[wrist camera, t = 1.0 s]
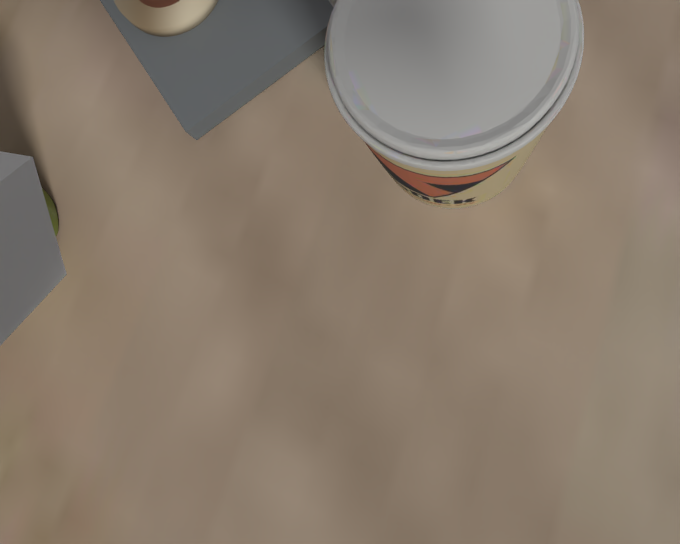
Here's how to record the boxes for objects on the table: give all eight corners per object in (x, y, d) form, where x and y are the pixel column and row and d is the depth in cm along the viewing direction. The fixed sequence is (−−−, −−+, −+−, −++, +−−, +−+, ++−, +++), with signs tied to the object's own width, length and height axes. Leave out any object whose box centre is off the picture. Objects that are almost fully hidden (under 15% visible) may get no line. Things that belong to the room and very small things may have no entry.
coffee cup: (337, 177, 36) (274, 95, 24) (418, 28, 36) (396, -127, 24) (491, 256, 34) (506, 208, 22) (577, 98, 34) (638, -35, 22)
